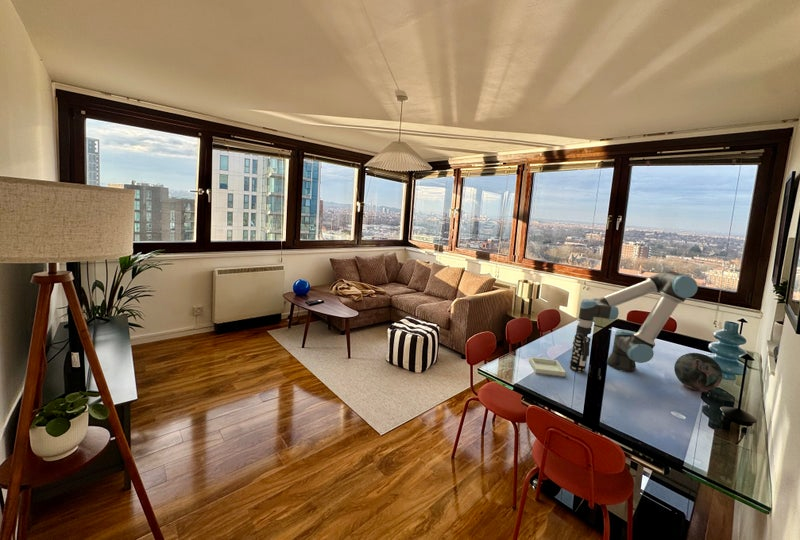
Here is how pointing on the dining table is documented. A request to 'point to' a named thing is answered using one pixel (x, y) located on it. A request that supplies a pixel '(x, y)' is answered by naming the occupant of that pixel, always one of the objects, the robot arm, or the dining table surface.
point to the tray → (547, 366)
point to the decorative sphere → (698, 371)
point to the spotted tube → (577, 355)
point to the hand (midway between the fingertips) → (578, 361)
